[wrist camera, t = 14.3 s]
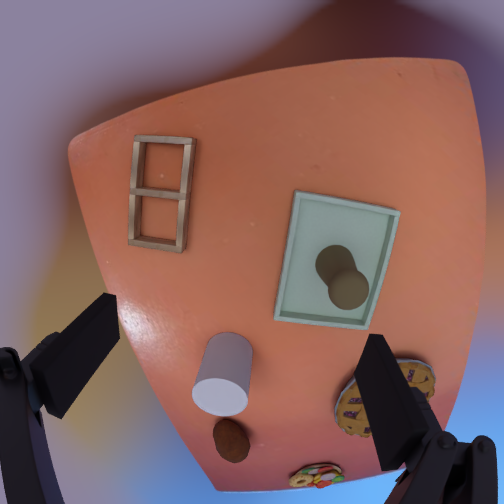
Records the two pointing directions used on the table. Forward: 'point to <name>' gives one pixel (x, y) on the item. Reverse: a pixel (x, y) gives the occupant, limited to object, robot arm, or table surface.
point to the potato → (230, 441)
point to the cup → (224, 375)
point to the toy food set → (317, 476)
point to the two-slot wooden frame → (160, 193)
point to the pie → (351, 405)
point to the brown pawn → (342, 277)
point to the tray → (321, 236)
